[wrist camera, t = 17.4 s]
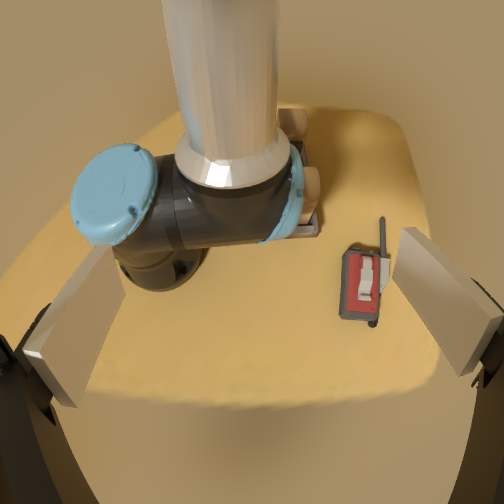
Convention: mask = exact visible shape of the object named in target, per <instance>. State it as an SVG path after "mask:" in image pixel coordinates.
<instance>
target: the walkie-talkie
mask: <svg viewBox="0 0 504 504" xmlns="http://www.w3.org/2000/svg"><path fill="white" fill-rule="evenodd" d="M389 264H390V259H388V258H386V245H385V220H384V218H381V219H380V253H379V254H376V253H373V251H369V252H363V251H361V249H360V248H358V247H351V248H350V249H349V250H348V251H347V252H345V253H344V254H343V256H342V272H341V281H342V282H341V289H340V290H341V292H340V293H341V295H340V296H341V297H340V305H339V306H340V308H339V309H340V310H339V316H340V317H341V319H347V320H360V321H368V326H369V327H371V328H374V327H376V326H377V323H378V314H379V313H378V311H379V298H380V296H381V293H383V288H384V287H385V286H386V284H387V283H388V281H389ZM373 320H375V323H374V325H371V321H373Z"/></svg>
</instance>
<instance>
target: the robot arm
mask: <svg viewBox="0 0 504 504" xmlns="http://www.w3.org/2000/svg"><path fill="white" fill-rule="evenodd" d="M161 3H162V9H163V16H164V21H165V28H166V34H167V40H168V45H169V52H170V57H171V63H172V68H173V74H174V79H175V85H176V90H177V95H178V100H179V105H180V110H181V115H182V120H183V125H184V130H185V134H184V135H183V136H182V137H181V139H180V140H179V142H178V143H177V146H176V149H175V154H170V155H163V156H157V157H153V155H152V154H151V153H150V152H149V151H148V150H146V149H143V148H141V147H140V146H139V145H136V144H131V143H124V144H118V145H115V146H112V147H110V148H107V149H105V150H104V151H102V152H100V153H99V154H98V155H96V156H95V157H94V158H93V159H92V160H91V161H90V162H89V163H88V165H87V167H86V168H85V169H84V170H83V171H82V172H81V173H80V175H79V177H78V178H77V180H76V183H75V185H74V188H73V191H72V195H71V202H70V210H71V216H72V220H73V222H74V224H75V226H76V228H77V229H78V231H79V232H80V233H81V234H82V235H83V236H85V238H86V239H87V241H88V242H89V243H90V244H92V245H95V247H94V248H93V249H92V251H91V252H90V253H89V254H88V256H87V257H86V258H85V259H84V261H83V262H82V263H81V264H80V266H79V267H78V268H77V270H76V271H75V272H74V273H73V275H72V276H71V277H70V279H69V280H68V281H67V283H66V284H65V285H64V287H63V288H62V290H61V291H60V292H59V294H58V295H57V297H56V298H55V299H54V301H53V302H52V303H49V304H48V305H47V306H46V307H45V308H44V309H42V310H41V311H40V313H39V314H38V315H37V317H36V318H35V320H34V321H35V322H33V323H32V324H31V326H30V329H28V330H27V332H26V333H25V335H24V337H23V338H22V340H21V341H20V343H19V345H18V346H17V348H16V349H15V351H14V352H13V350H12V349H11V347H10V345H9V344H8V342H7V340H6V339H5V337H4V336H3V335H1V334H0V504H99V502H98V501H97V499H96V497H95V496H94V494H93V492H92V490H91V488H90V487H89V485H88V483H87V481H86V479H85V477H84V476H83V473H82V472H81V470H80V468H79V466H78V463H77V462H76V459H75V457H74V455H73V453H72V451H71V449H70V446H69V444H68V442H67V439H66V437H65V435H64V432H63V430H62V427H61V425H60V422H59V420H58V417H57V414H56V411H55V409H54V407H53V406H52V404H51V403H50V402H51V399H52V397H53V396H54V397H55V398H56V399H57V401H58V402H59V403H60V404H61V405H63V406H68V407H73V408H79V405H80V402H81V399H82V396H83V394H84V391H85V388H86V386H87V383H88V380H89V378H90V375H91V373H92V370H93V368H94V365H95V363H96V360H97V358H98V355H99V353H100V350H101V348H102V346H103V343H104V341H105V338H106V336H107V334H108V332H109V329H110V327H111V325H112V322H113V320H114V318H115V316H116V314H117V311H118V309H119V307H120V305H121V303H122V301H123V299H124V296H125V292H124V289H123V285H122V282H121V279H120V275H119V272H118V269H117V265H116V261H115V259H116V260H118V262H119V265H120V268H121V270H122V271H123V273H124V274H125V276H126V277H127V278H128V279H129V280H130V281H131V282H133V283H134V284H136V285H137V286H139V287H141V288H143V289H146V290H149V291H154V292H164V291H169V290H172V289H175V288H177V287H179V286H181V285H182V284H184V283H185V282H186V281H188V280H189V279H190V278H191V277H192V275H193V274H194V273H195V271H196V270H197V268H198V266H199V264H200V262H201V259H202V255H203V248H208V247H219V246H230V245H242V244H254V243H256V244H263V243H266V242H268V241H273V240H279V239H284V238H286V237H288V236H289V235H291V234H292V233H293V231H294V230H295V229H296V227H297V225H298V222H299V220H300V217H301V213H302V208H303V201H304V197H303V193H302V191H303V188H304V171H303V164H302V160H301V157H300V154H299V152H298V150H297V149H296V147H295V146H294V145H292V144H290V143H289V140H288V137H287V136H286V134H285V133H284V132H283V131H282V129H280V128H279V127H278V126H277V125H276V112H277V85H278V56H279V19H280V0H161ZM392 279H393V280H394V282H395V283H396V284H397V286H398V287H399V288H400V290H401V291H402V292H403V294H404V295H405V297H406V298H407V299H408V301H409V302H410V304H411V305H412V306H413V308H414V309H415V311H416V312H417V314H418V315H419V316H420V318H421V319H422V321H423V322H424V324H425V325H426V327H427V328H428V330H429V331H430V333H431V334H432V336H433V337H434V339H435V340H436V342H437V343H438V345H439V346H440V348H441V350H442V351H443V353H444V354H445V356H446V357H447V359H448V361H449V362H450V364H451V365H452V367H453V369H454V370H455V372H456V374H457V375H458V377H460V376H463V375H465V374H468V373H470V372H473V370H474V368H475V367H476V365H477V364H478V362H479V360H480V361H481V363H482V364H483V367H482V369H481V370H480V372H479V373H478V375H477V376H476V378H475V379H474V381H473V382H472V385H471V387H473V386H474V385H475V384H476V382H477V381H479V382H478V386H477V396H476V403H475V409H474V414H473V419H472V424H471V430H470V433H469V438H468V442H467V446H466V450H465V454H464V457H463V461H462V464H461V467H460V471H459V474H458V477H457V480H456V483H455V486H454V489H453V492H452V494H451V497H450V500H449V502H448V504H504V310H503V309H502V307H501V306H500V305H499V304H498V303H497V302H496V301H495V300H494V299H493V298H492V297H490V294H489V293H488V292H487V291H485V289H484V288H483V287H482V286H481V285H480V284H479V283H478V282H477V281H475V280H474V279H472V278H470V277H469V276H468V275H467V274H466V273H464V271H463V270H462V269H461V268H459V266H457V264H456V263H454V262H453V261H452V260H451V259H450V258H449V257H448V256H447V255H446V254H445V253H444V252H443V251H442V250H441V249H439V248H438V247H437V246H436V245H435V244H434V243H433V242H432V241H431V240H429V239H428V238H427V237H426V236H425V235H424V234H423V233H421V232H420V231H419V230H418V229H417V228H416V227H409V228H402V232H401V238H400V243H399V248H398V253H397V258H396V262H395V267H394V271H393V276H392Z"/></svg>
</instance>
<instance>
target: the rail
mask: <svg viewBox="0 0 504 504" xmlns="http://www.w3.org/2000/svg"><path fill="white" fill-rule="evenodd" d="M276 125H277V126H278V127H279V128H280V129H282V131H283V132H284V133H285V134H286V136H287V137H288V140H289V143H290V144H292V145H294V146H295V147H296V149H297V150H298V152H299V154H300V157H301V160H302V164H303V167H308V162H307V156H306V151H305V146H304V143H305V139H306V135H307V127H308V123H307V114H306V111H305V109H278V114H277V123H276ZM318 230H319V229H318V222H317V215H316V209H314V211H313V213H312V215H311V217H310V219H309V221H308V223H307V225H306V226H297V227H296V229H295V230H294V231H293V233H292V234H291V235H289V236H288V237H286V238H284V239H289V238H308V237H317V236H318V234H319V233H318Z"/></svg>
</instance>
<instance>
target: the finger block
mask: <svg viewBox="0 0 504 504" xmlns="http://www.w3.org/2000/svg"><path fill="white" fill-rule="evenodd" d="M303 171H304V188H303V191H302V193H303V197H304V201H303V208H302V213H301V217H300V220H299V222H298V225H297V226H306V225H307V223H308V221H309V219H310V217H311V215H312V213H313V211H314V209H315V207H316V204H317V202H318V200H319V197H320V190H321V184H320V175H319V171H318V169H317V167H303Z"/></svg>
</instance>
